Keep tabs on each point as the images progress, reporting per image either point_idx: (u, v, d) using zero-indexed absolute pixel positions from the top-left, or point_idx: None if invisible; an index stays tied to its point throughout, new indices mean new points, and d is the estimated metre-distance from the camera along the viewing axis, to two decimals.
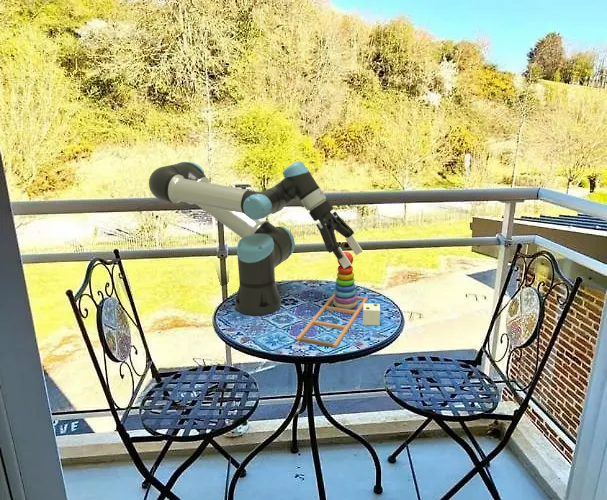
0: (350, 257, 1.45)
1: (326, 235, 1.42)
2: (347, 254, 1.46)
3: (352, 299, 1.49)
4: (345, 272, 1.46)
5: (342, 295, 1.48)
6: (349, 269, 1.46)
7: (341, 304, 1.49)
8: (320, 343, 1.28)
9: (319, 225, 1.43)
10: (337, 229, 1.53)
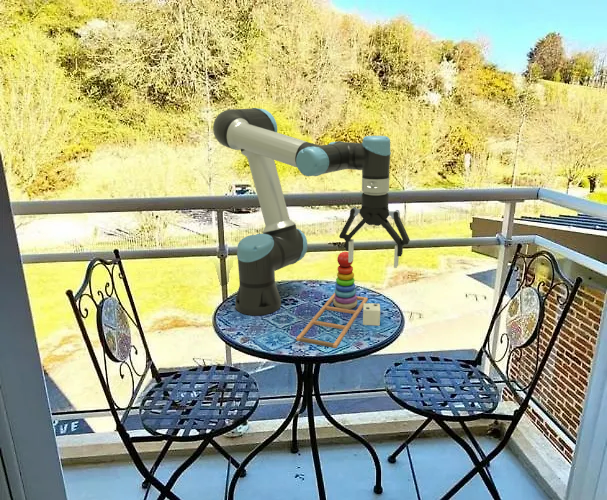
0: None
1: (346, 223, 1.34)
2: (347, 254, 1.46)
3: (352, 299, 1.49)
4: (345, 272, 1.46)
5: (342, 295, 1.48)
6: (349, 269, 1.46)
7: (341, 304, 1.49)
8: (320, 343, 1.28)
9: None
10: None
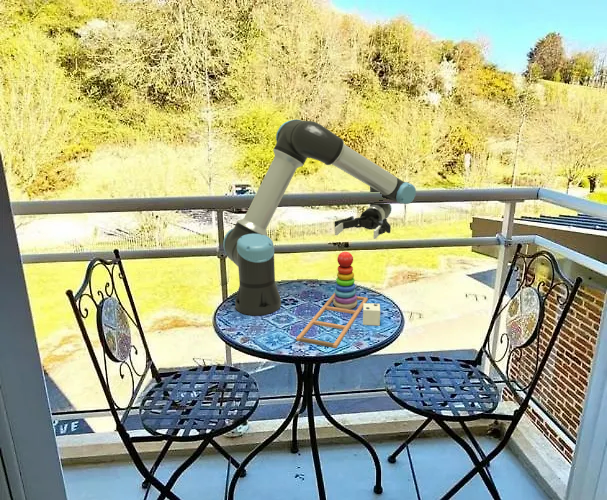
0: (350, 257, 1.45)
1: None
2: (347, 254, 1.46)
3: (352, 299, 1.49)
4: (345, 272, 1.46)
5: (342, 295, 1.48)
6: (349, 269, 1.46)
7: (341, 304, 1.49)
8: (320, 343, 1.28)
9: None
10: (354, 222, 1.64)
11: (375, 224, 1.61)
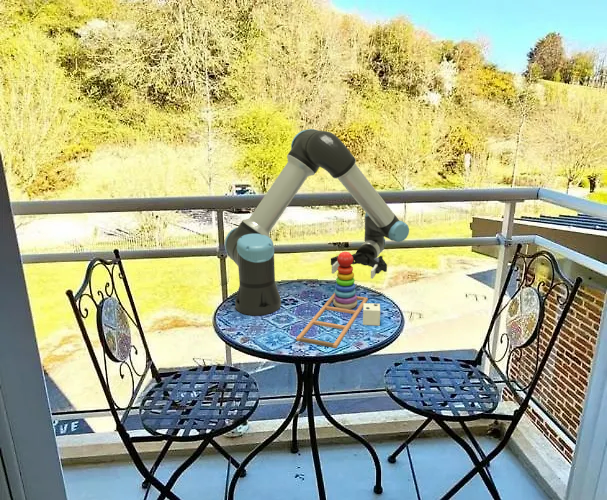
0: (350, 257, 1.45)
1: None
2: (347, 254, 1.46)
3: (352, 299, 1.49)
4: (345, 272, 1.46)
5: (342, 295, 1.48)
6: (349, 269, 1.46)
7: (341, 304, 1.49)
8: (320, 343, 1.28)
9: None
10: None
11: (371, 262, 1.62)
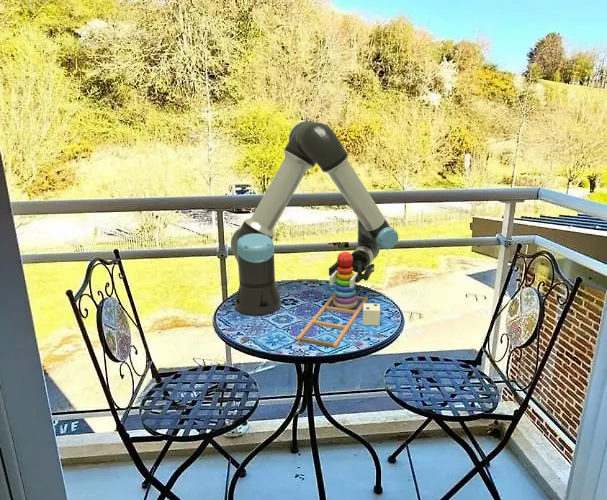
0: (350, 257, 1.45)
1: (370, 273, 1.54)
2: (347, 254, 1.46)
3: (352, 299, 1.49)
4: (345, 272, 1.46)
5: (342, 295, 1.48)
6: (349, 269, 1.46)
7: (341, 304, 1.49)
8: (320, 343, 1.28)
9: (373, 268, 1.57)
10: None
11: (357, 269, 1.54)
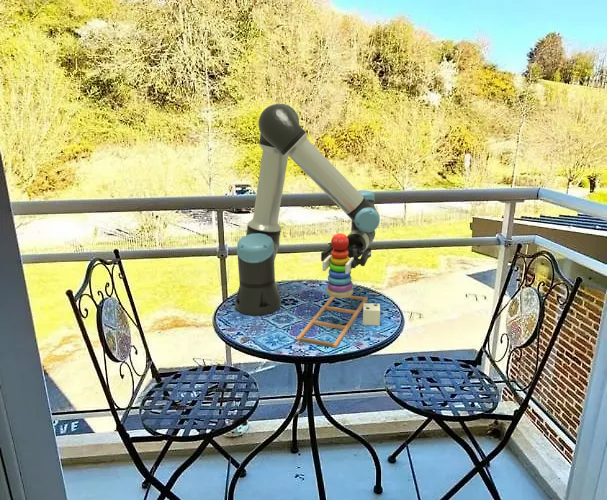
0: (345, 239, 1.30)
1: (366, 258, 1.38)
2: (342, 236, 1.30)
3: (348, 287, 1.33)
4: (340, 256, 1.30)
5: (336, 282, 1.32)
6: (344, 253, 1.31)
7: (335, 292, 1.33)
8: (320, 343, 1.28)
9: (370, 253, 1.41)
10: None
11: None
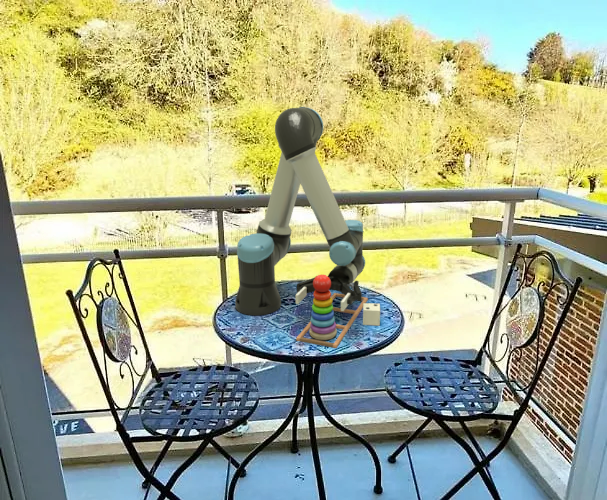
0: (327, 281, 1.27)
1: None
2: (324, 278, 1.27)
3: (330, 329, 1.30)
4: (322, 298, 1.27)
5: (319, 324, 1.29)
6: (326, 295, 1.28)
7: (318, 334, 1.30)
8: (320, 343, 1.28)
9: None
10: None
11: (344, 289, 1.35)
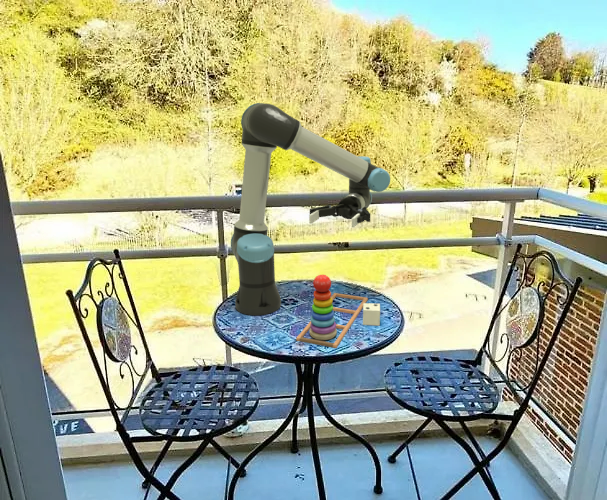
0: (327, 281, 1.27)
1: None
2: (324, 278, 1.27)
3: (330, 329, 1.30)
4: (322, 298, 1.27)
5: (319, 324, 1.29)
6: (326, 295, 1.28)
7: (318, 334, 1.30)
8: (320, 343, 1.28)
9: None
10: (331, 210, 1.50)
11: (354, 212, 1.47)
